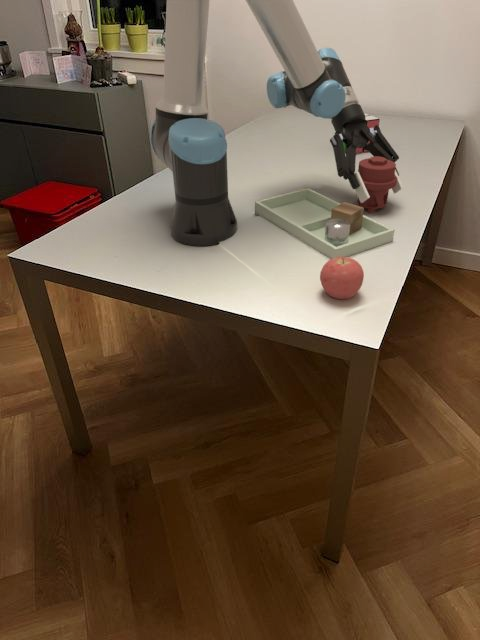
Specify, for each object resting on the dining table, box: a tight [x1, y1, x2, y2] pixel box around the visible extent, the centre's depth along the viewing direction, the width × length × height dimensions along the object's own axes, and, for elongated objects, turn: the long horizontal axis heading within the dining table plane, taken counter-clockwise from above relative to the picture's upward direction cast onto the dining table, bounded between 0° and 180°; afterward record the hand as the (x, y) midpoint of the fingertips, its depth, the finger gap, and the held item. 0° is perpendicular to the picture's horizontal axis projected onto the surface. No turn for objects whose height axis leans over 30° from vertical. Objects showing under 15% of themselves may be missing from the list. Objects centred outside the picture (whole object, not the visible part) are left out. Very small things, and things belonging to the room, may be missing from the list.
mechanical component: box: [356, 156, 397, 214], centre depth 118 cm, size 12×10×10 cm
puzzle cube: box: [334, 112, 380, 155], centre depth 159 cm, size 10×10×10 cm
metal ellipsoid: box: [324, 219, 350, 247], centre depth 104 cm, size 5×5×5 cm
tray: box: [254, 187, 395, 259], centre depth 113 cm, size 16×30×3 cm, turn 31°
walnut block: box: [331, 201, 365, 236], centre depth 110 cm, size 5×5×5 cm
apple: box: [319, 256, 365, 300], centre depth 88 cm, size 7×7×8 cm
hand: (382, 195), depth 117 cm, fingers closed on mechanical component, 10 cm apart
